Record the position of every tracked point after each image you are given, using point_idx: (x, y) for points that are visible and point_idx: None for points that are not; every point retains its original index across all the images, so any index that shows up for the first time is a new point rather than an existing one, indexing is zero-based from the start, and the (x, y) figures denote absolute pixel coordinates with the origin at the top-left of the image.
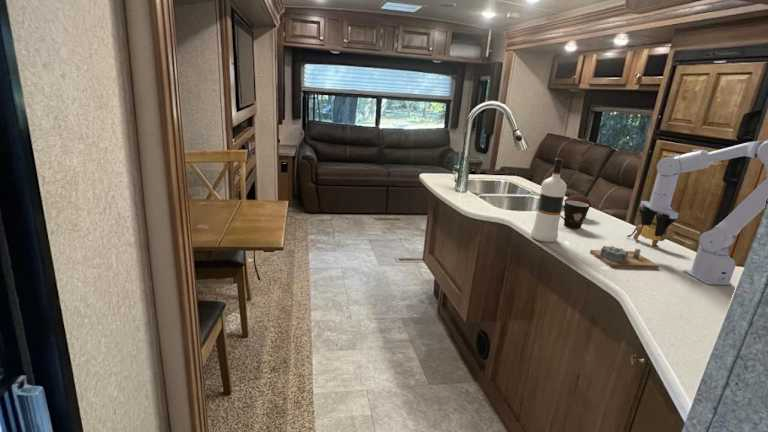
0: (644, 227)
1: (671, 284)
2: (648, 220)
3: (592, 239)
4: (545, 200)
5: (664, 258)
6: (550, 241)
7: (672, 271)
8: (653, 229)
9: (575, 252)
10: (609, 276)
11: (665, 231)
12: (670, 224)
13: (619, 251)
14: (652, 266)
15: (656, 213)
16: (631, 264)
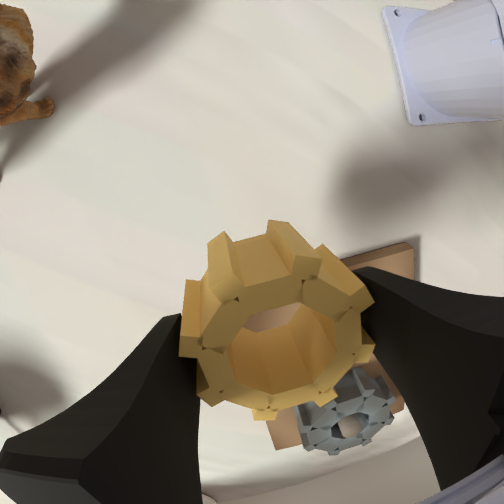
0: (275, 410)
1: (501, 259)
2: (176, 414)
3: (78, 392)
4: None
5: (229, 115)
6: (215, 502)
7: (416, 182)
8: (348, 367)
9: (279, 466)
10: None
11: (1, 59)
12: (488, 298)
13: (352, 410)
14: (412, 278)
15: (110, 442)
16: None
